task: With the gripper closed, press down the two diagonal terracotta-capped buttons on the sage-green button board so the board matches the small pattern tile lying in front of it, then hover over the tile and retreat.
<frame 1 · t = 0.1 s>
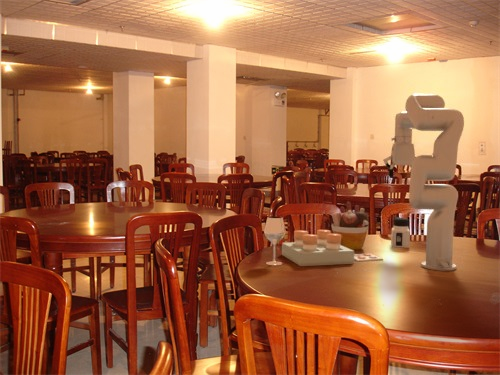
hand: (401, 178, 251), 31 cm above the table, tool pointing down, fingers open, 9 cm apart
button d: (300, 240, 224), point 7 cm above the table, slide at 0.0 cm
button a: (333, 243, 217), point 7 cm above the table, slide at 0.0 cm
board: (316, 258, 221), on the table
wineglass: (274, 264, 211), on the table
button c: (309, 244, 214), point 7 cm above the table, slide at 0.0 cm
button b: (323, 239, 226), point 7 cm above the table, slide at 0.0 cm
bucket of meat: (349, 248, 246), on the table
pattern tile: (364, 258, 224), on the table
container: (400, 246, 252), on the table
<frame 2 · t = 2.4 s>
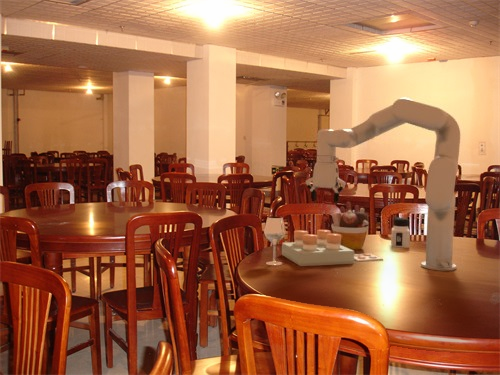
hand: (324, 201, 225), 22 cm above the table, tool pointing down, fingers open, 9 cm apart
nothing on the table moved.
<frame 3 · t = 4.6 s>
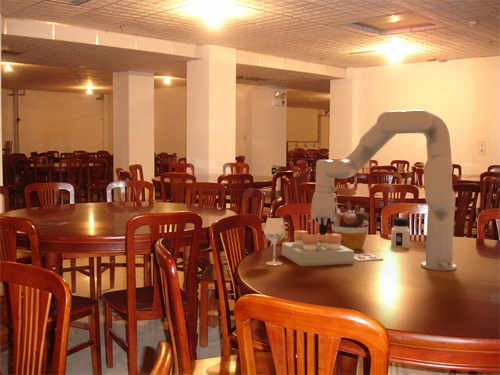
hand: (323, 234, 226), 9 cm above the table, tool pointing down, fingers closed
button b: (323, 242, 226), point 6 cm above the table, slide at 1.4 cm, touching gripper
everything else where it was.
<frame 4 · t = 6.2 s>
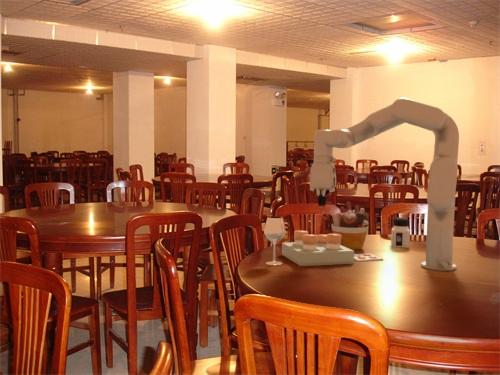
hand: (321, 205, 223), 21 cm above the table, tool pointing down, fingers closed
button b: (323, 243, 226), point 5 cm above the table, slide at 2.0 cm
everything else where it was.
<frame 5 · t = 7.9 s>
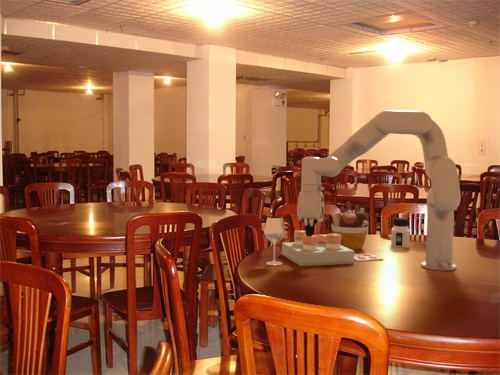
hand: (309, 235, 214), 10 cm above the table, tool pointing down, fingers closed
button c: (309, 244, 214), point 7 cm above the table, slide at 0.1 cm, touching gripper
everything else where it was.
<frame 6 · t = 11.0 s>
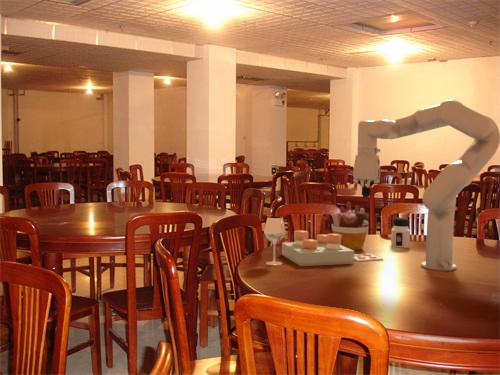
hand: (365, 197, 222), 25 cm above the table, tool pointing down, fingers closed
button c: (309, 249, 214), point 5 cm above the table, slide at 2.0 cm
everything else where it was.
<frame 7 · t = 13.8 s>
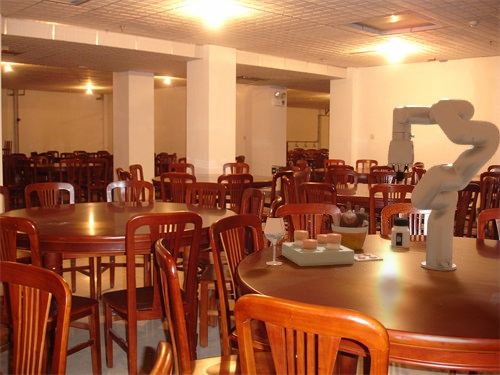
hand: (399, 181, 229), 31 cm above the table, tool pointing down, fingers closed
nothing on the table moved.
at the end: button b slide at 2.0 cm; button c slide at 2.0 cm; button d slide at 0.0 cm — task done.
